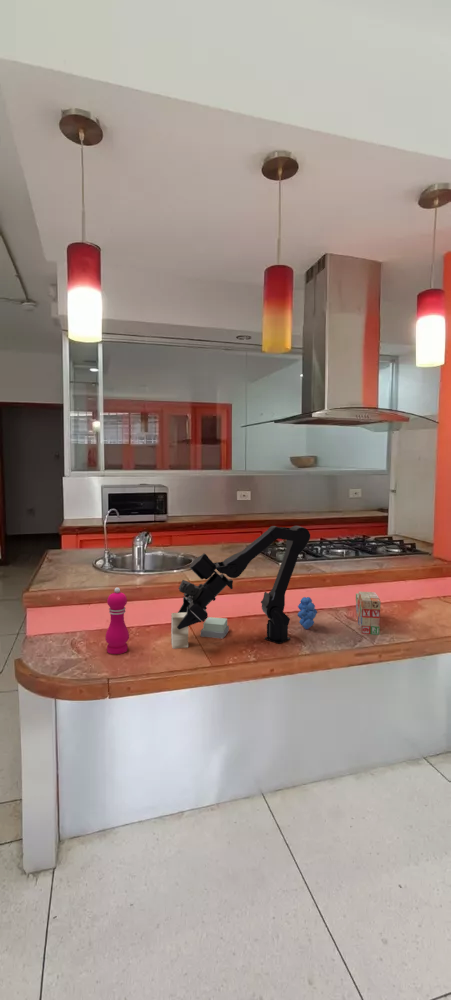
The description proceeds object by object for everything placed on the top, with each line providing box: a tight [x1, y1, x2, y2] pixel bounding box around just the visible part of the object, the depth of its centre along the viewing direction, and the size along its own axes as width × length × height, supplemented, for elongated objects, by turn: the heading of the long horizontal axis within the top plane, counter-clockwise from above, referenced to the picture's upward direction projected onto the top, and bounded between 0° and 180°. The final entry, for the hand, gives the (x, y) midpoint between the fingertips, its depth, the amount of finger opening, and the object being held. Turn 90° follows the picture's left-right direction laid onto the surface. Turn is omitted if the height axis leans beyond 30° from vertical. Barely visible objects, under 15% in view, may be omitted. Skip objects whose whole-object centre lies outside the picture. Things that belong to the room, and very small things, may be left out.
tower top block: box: [202, 616, 228, 632], centre depth 163 cm, size 7×7×2 cm
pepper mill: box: [104, 587, 130, 655], centre depth 146 cm, size 7×7×20 cm
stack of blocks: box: [355, 591, 382, 636], centre depth 174 cm, size 21×6×12 cm, turn 170°
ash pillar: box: [170, 612, 189, 649], centre depth 151 cm, size 5×5×10 cm
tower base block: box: [199, 625, 230, 639], centre depth 163 cm, size 8×8×2 cm
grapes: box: [297, 596, 318, 630], centre depth 169 cm, size 12×7×12 cm, turn 15°
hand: (176, 623), depth 151 cm, fingers open, 9 cm apart
